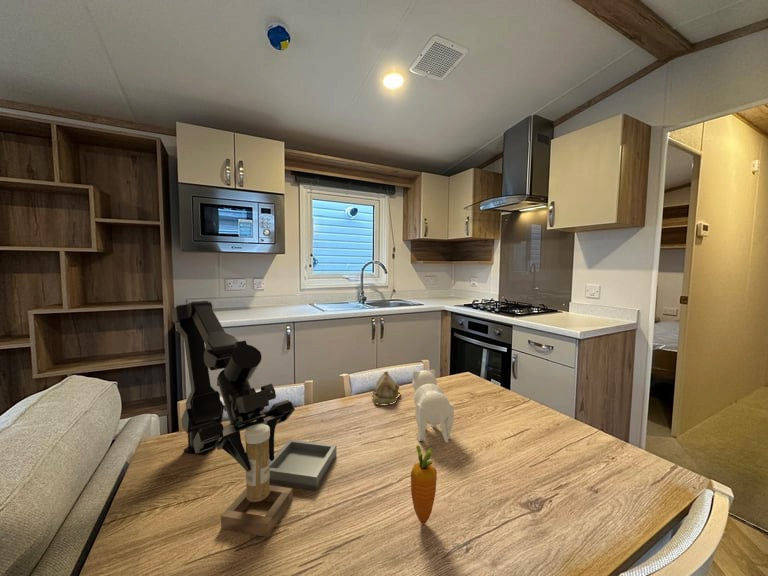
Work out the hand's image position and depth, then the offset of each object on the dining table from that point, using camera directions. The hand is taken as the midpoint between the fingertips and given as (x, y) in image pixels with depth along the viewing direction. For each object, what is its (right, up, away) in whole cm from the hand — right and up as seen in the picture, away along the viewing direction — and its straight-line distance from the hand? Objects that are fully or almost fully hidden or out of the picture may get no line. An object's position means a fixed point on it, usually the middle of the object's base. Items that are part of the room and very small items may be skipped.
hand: (261, 465), depth 62 cm
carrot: (+31, -11, -1) cm, 33 cm away
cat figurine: (+38, -9, +33) cm, 51 cm away
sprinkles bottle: (-1, -7, +1) cm, 7 cm away
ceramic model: (+24, -7, +58) cm, 64 cm away
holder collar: (-1, -10, +2) cm, 10 cm away
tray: (+4, -10, +16) cm, 19 cm away
